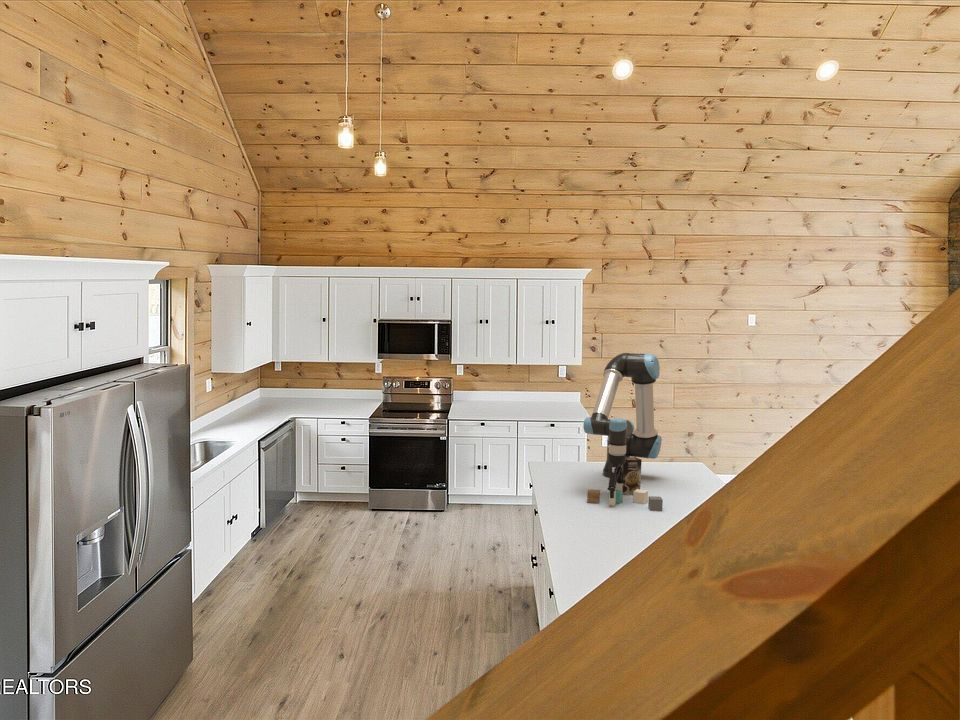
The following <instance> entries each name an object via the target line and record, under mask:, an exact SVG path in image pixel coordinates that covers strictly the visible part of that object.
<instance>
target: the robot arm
mask: <svg viewBox="0 0 960 720" xmlns="http://www.w3.org/2000/svg"><path fill="white" fill-rule="evenodd" d="M660 370H661V369H660V362H659V358H658V357H657V356H656V355H655V354H649V353H634V352H623V353H619V354H617V355H616V356H614V357H612V358H611V360H610V361H608V363H607V364H606V366H605V367H604V370H603V373H602V376H603V380H602V382H601V386H600V389H599V391H598V395H597V398H596V401H595V405H594V408H593V411H592V413H591V416H590V417H589V416H588V417H585V418H584V421H583V425H582V426H583V428H582V429H583V431H584V433H585V434H587V435H588V434H589V435H592V436H593V435H596V436H607V438H606V439H607V440H606V442H607V443H606V461H605V464H604V466H603V469H602V476H604V477H607V478H609V479H608V486H607V487H608V488H607V491H608V506H614V507H615V506H616V504H615V500H616V491H615V490H622V484H621V483H623V484H624V479H623V464H624V463H625V462H626V457H636V458H640V459H643V458H644V459H651V460H652V459H654V460H655V459H657V458H658V457H659V454H660V452H661V447H662V439H663V438H662V436H661V435H658V434H659V432H658V430H657V429H656V428H655V411H654V406H655V405H654V384H656V382H657V379H659V378H660ZM625 377H626V378H631V383H632V384H633V385H634V395H635V396H634V397H635V423H636V424H635V425H636V429H635V425H634V423H633V421H631V420H630V419H624V418H619V417H618V418H611V419H609V416H610V413H611V411H612V406H613V404H614V400H615V397H616V394H617V391H618V387H619V385H620V383H621V382H622V381H623V379H624V378H625Z"/></svg>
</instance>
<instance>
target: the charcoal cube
mask: <svg viewBox="0 0 960 720" xmlns="http://www.w3.org/2000/svg"><path fill="white" fill-rule="evenodd" d="M663 500H664V499H663V498H662V496H654V495H651V496H650V495H648V502H647V503H648V507H647V508H648V510H649V511H651V512H652V511H653V512H662V511H663V505H664V504H663Z"/></svg>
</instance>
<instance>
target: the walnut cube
mask: <svg viewBox="0 0 960 720" xmlns="http://www.w3.org/2000/svg"><path fill="white" fill-rule="evenodd" d="M600 491H601V490H600V489H592V488H589V489H587V493H586V494H587V495H586V496H587V500H586V503H587V504H596V505H597V504H600V499H601V498H600V493H601V492H600Z"/></svg>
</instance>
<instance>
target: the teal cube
mask: <svg viewBox="0 0 960 720" xmlns="http://www.w3.org/2000/svg"><path fill="white" fill-rule="evenodd" d="M615 491H616V500H615V505H616V504H617V505H620V504H622V502H623V498H624V497H623V495H624V494H623V490H616V489H615Z"/></svg>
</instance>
